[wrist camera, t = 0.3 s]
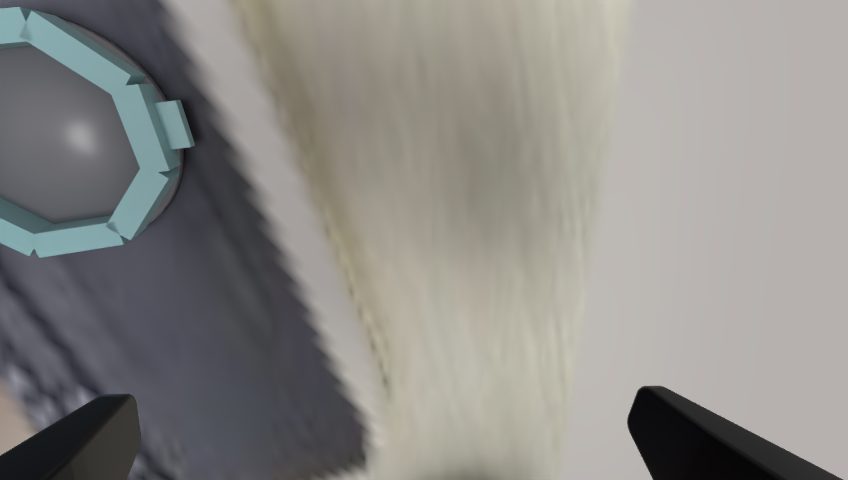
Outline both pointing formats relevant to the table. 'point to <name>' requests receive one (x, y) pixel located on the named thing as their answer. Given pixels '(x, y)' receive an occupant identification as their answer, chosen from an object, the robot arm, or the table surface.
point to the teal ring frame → (80, 138)
